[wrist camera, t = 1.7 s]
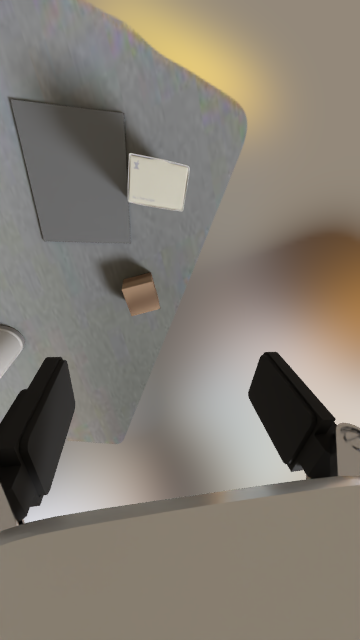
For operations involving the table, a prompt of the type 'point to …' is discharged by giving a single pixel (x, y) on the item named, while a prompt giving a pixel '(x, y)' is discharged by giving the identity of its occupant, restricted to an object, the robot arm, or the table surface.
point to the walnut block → (140, 294)
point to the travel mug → (9, 347)
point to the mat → (76, 171)
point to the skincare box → (157, 182)
